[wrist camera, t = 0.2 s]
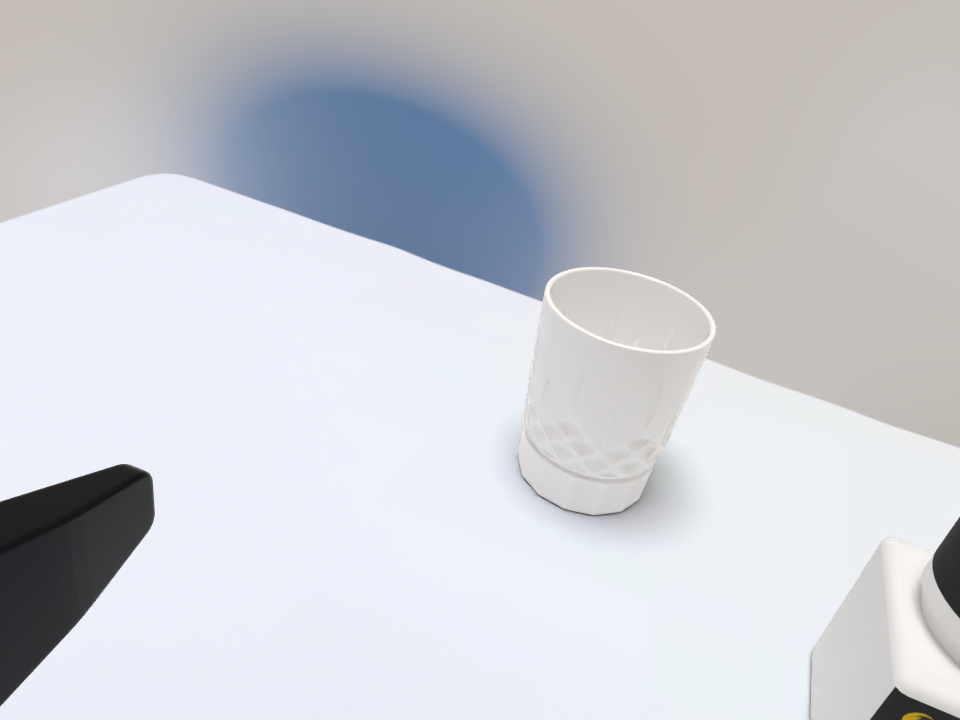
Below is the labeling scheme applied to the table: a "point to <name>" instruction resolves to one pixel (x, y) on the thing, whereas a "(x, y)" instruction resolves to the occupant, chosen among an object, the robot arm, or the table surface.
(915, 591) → the medicine bottle
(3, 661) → the robot arm
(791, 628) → the table surface
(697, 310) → the white cup
